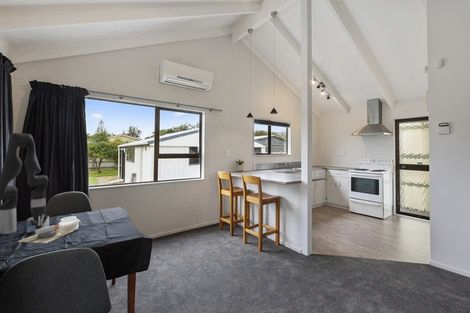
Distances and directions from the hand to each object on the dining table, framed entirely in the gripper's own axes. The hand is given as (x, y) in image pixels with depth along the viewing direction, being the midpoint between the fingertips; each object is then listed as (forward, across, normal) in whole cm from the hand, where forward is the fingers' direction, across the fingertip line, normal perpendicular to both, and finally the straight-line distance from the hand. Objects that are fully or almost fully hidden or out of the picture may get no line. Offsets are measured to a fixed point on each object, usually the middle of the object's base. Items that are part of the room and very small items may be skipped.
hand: (38, 230), depth 150 cm
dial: (+4, -2, +4) cm, 6 cm away
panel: (+6, -2, +4) cm, 7 cm away
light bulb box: (+6, -11, -12) cm, 17 cm away
